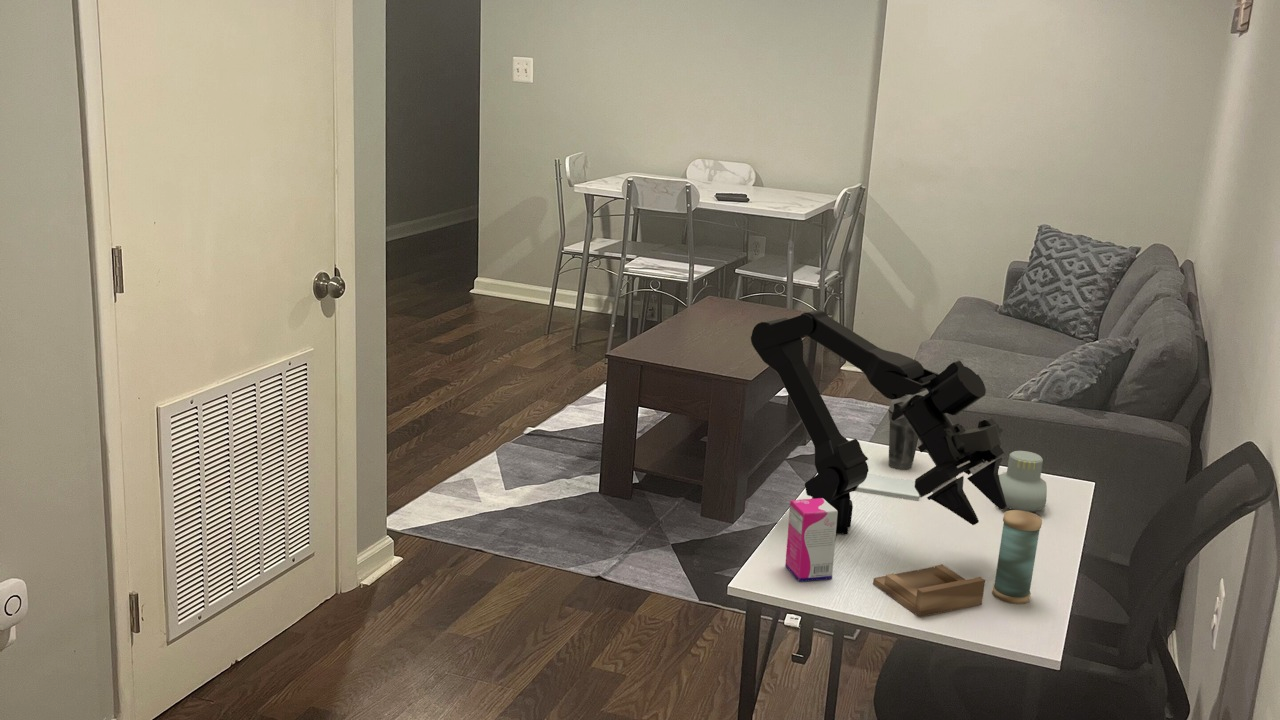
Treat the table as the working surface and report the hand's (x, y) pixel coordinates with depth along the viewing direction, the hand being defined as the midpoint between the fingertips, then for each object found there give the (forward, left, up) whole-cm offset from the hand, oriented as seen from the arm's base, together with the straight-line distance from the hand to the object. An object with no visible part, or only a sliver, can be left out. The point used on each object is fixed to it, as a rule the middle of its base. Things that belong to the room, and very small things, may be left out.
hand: (990, 515), depth 171 cm
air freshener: (+13, +35, -12) cm, 39 cm away
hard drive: (-11, +38, -12) cm, 41 cm away
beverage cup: (-7, +51, -12) cm, 53 cm away
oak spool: (+4, -3, -11) cm, 13 cm away
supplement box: (-27, -2, -12) cm, 29 cm away
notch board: (-9, -6, -11) cm, 16 cm away
